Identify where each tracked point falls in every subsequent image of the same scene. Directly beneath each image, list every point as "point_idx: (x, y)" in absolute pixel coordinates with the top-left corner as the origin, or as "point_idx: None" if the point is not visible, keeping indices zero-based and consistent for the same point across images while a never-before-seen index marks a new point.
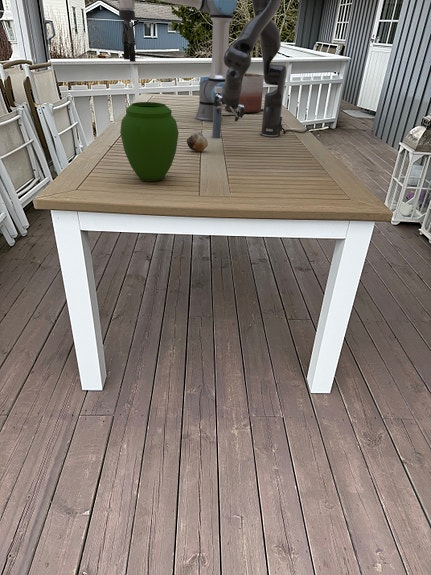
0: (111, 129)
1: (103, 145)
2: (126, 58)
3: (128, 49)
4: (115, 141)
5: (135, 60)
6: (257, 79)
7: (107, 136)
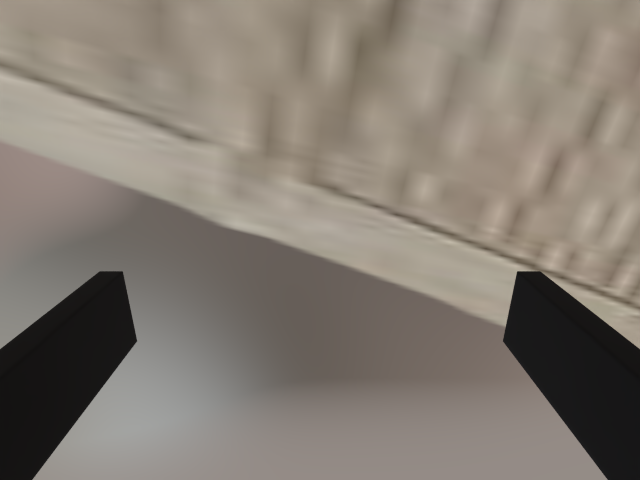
0: (377, 268)
1: (621, 333)
2: (123, 322)
3: (18, 375)
4: (585, 289)
5: (548, 279)
6: None
7: (496, 302)
